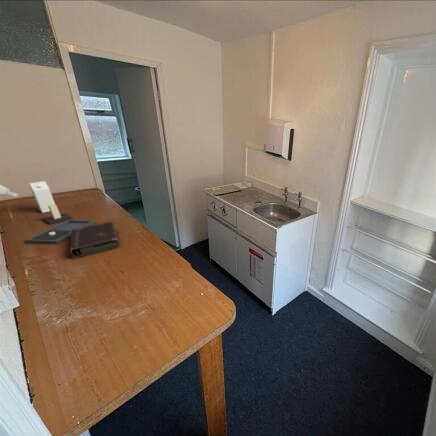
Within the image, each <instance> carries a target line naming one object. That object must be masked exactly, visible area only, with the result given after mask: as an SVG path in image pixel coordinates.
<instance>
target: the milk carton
mask: <svg viewBox="0 0 436 436" xmlns="http://www.w3.org/2000/svg"><path fill="white" fill-rule="evenodd" d="M29 187H30V191H31V193H32V196H33V198H34V200H35V202H36V203H35V204H36V205H37V207H38V210H39V211H40V212H41V213H42V214H44V213H49V212H50V209H49V207H48V206H49V205H53V204H55V205H56V203H55V200H54V197H53V195H52V192H51V189H50V187H49V185H48V184H47V182H46V180H44V181H37V182H29Z"/></svg>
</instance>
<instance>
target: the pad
mask: <svg viewBox="0 0 436 436" xmlns="http://www.w3.org/2000/svg"><path fill="white" fill-rule="evenodd" d="M70 232H71V231H70V230H50V231H48V232H46V233H44V234H42V235H40V236H38V237H36V238H34V239H41V240H56V239H58V238H60V237H62V236H64V235H66V234H68V233H70Z"/></svg>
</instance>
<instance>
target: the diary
mask: <svg viewBox="0 0 436 436" xmlns="http://www.w3.org/2000/svg"><path fill="white" fill-rule="evenodd" d="M119 237H120V236H119V235H118V234H117V232H116V228H115V226H114V223H113V221H107V222H102V223H96V224H95V223H94V224H92V225H90V226H86V227H82V228H78V229H72V232H71V236H70V250H69V253H70V256H71V257H72V259H76V258H79V257H80V258H81V257H84V256H88V255H92V254H96V253H97V254H98V253H100V252H104V251H108V250H112V249H115V248H119V247H120V243H119V240H118V238H119Z"/></svg>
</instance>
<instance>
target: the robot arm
mask: <svg viewBox="0 0 436 436" xmlns="http://www.w3.org/2000/svg"><path fill="white" fill-rule="evenodd" d="M0 195H1V196H2V195H3V196H6V195H8V196H12V197H15V198H17V197H18V196H19V194H18V193H16V192H14V191H13V190H12V189H10V188H8V187H6V186H4V185H2V184H1V183H0Z"/></svg>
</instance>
